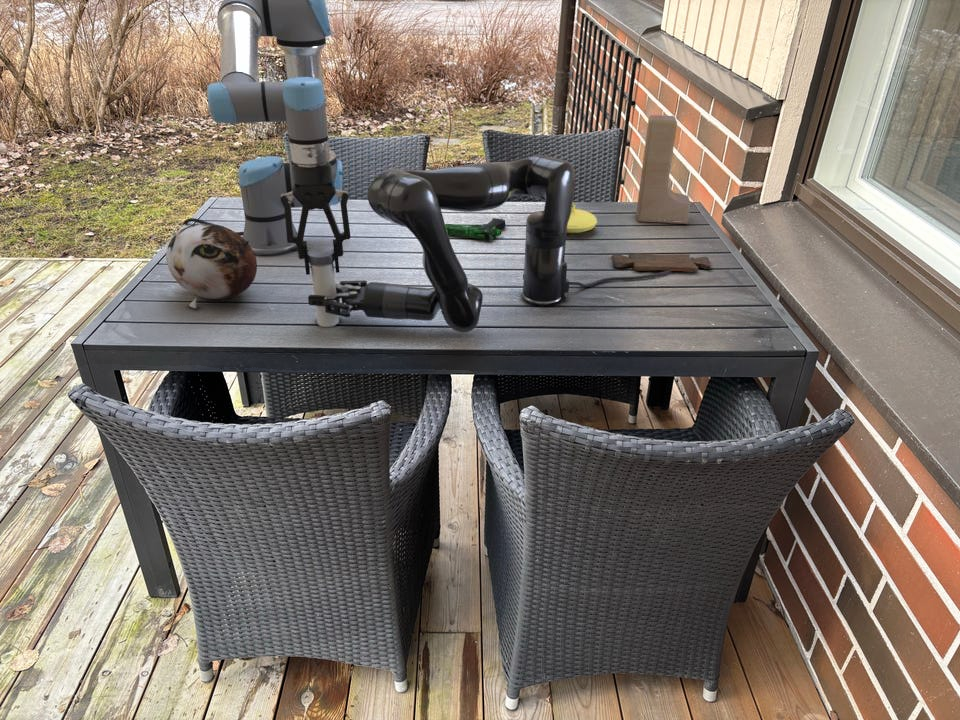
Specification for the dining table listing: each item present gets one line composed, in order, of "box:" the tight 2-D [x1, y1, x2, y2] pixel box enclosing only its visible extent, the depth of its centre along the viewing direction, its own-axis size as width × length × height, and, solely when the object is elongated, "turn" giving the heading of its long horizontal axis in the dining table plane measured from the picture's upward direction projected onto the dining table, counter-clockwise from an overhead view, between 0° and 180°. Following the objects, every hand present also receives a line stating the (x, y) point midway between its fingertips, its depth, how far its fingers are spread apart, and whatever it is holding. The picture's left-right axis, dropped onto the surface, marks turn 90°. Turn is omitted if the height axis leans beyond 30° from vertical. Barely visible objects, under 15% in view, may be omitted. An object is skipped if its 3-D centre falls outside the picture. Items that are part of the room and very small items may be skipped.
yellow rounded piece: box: [566, 204, 598, 234], centre depth 209 cm, size 16×16×7 cm
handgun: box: [445, 217, 506, 242], centre depth 207 cm, size 16×3×15 cm
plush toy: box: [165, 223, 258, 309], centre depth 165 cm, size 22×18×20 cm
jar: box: [310, 262, 340, 328], centre depth 155 cm, size 5×5×16 cm
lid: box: [308, 246, 335, 265], centre depth 151 cm, size 6×6×2 cm
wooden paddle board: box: [611, 252, 711, 273], centre depth 188 cm, size 26×2×10 cm
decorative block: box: [635, 114, 692, 225], centre depth 212 cm, size 8×15×30 cm, turn 82°
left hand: (322, 270), depth 152 cm, fingers closed on lid, 5 cm apart
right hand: (313, 294), depth 156 cm, fingers closed on jar, 4 cm apart
